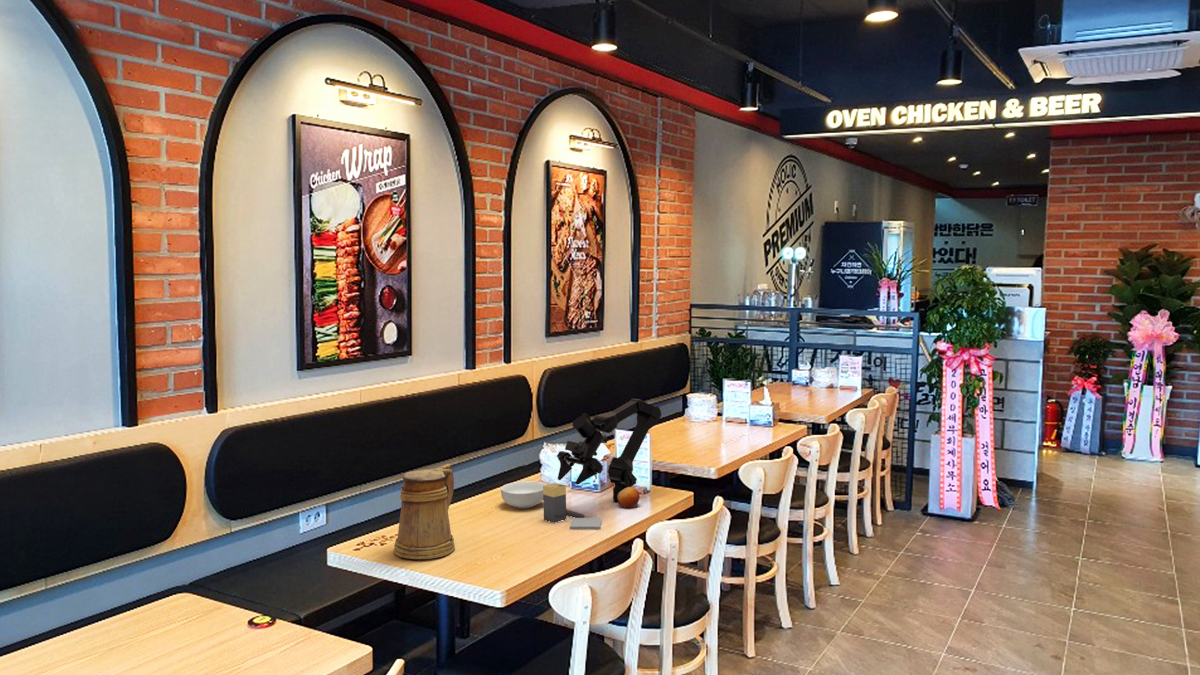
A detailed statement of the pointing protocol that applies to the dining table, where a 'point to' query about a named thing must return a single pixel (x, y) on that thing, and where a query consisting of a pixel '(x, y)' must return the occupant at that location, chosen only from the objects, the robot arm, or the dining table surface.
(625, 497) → the fruit
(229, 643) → the dining table surface
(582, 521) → the coaster
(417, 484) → the tankard
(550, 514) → the block
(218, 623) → the dining table surface
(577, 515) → the dark notched bar
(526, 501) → the cereal bowl
